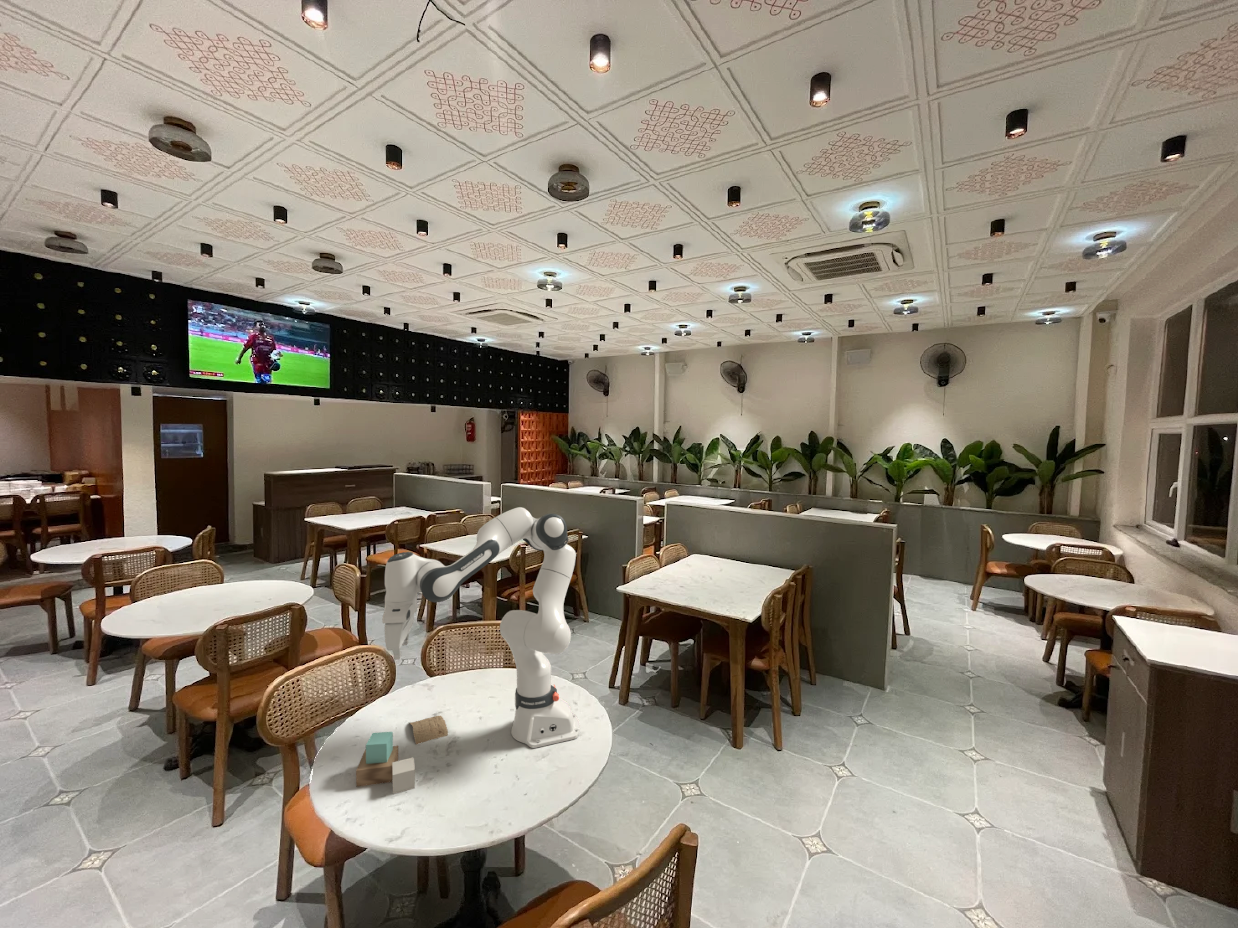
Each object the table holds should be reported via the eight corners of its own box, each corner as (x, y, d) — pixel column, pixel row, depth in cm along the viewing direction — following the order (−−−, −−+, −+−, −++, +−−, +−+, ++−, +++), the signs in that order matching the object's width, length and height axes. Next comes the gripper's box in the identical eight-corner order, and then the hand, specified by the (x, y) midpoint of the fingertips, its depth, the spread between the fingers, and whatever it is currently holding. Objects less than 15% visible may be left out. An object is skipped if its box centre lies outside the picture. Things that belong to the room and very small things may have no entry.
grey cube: (413, 775, 138) (413, 757, 138) (414, 788, 134) (414, 769, 133) (392, 781, 136) (392, 762, 136) (392, 794, 131) (392, 775, 131)
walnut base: (398, 761, 144) (398, 745, 144) (391, 783, 136) (391, 766, 135) (365, 765, 142) (365, 749, 142) (356, 787, 133) (356, 770, 133)
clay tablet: (407, 724, 163) (407, 716, 163) (438, 715, 168) (438, 707, 168) (416, 748, 151) (416, 740, 151) (449, 738, 156) (449, 729, 156)
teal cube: (392, 749, 142) (392, 731, 142) (386, 762, 137) (386, 743, 136) (372, 750, 141) (372, 732, 141) (365, 763, 136) (365, 744, 136)
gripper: (398, 595, 156) (398, 637, 157) (380, 620, 136) (380, 668, 137) (419, 594, 157) (419, 636, 158) (404, 619, 137) (404, 666, 138)
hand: (401, 651), depth 147 cm, fingers open, 8 cm apart
